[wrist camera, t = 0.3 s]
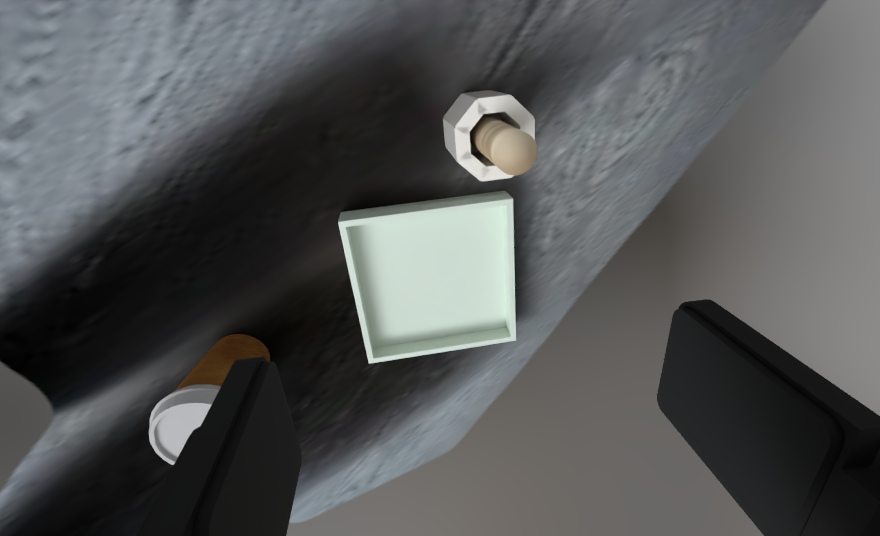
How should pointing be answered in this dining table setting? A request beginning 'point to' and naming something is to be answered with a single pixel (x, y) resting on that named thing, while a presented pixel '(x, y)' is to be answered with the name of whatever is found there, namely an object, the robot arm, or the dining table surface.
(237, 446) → the robot arm
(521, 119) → the cup holder
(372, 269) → the tray
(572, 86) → the dining table surface
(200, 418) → the disposable coffee cup
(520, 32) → the dining table surface
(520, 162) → the wooden pin
